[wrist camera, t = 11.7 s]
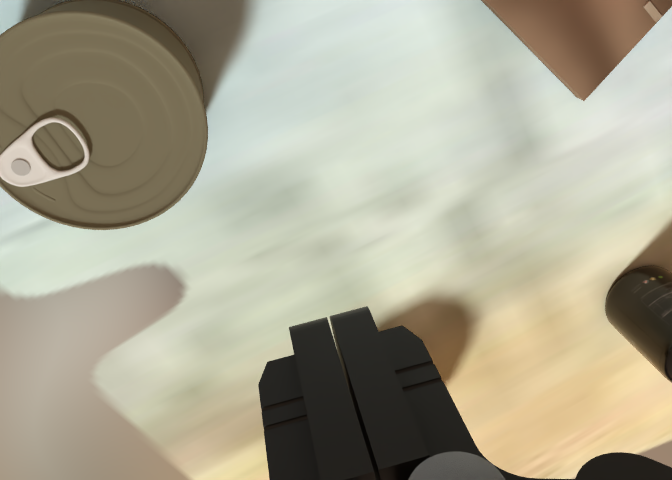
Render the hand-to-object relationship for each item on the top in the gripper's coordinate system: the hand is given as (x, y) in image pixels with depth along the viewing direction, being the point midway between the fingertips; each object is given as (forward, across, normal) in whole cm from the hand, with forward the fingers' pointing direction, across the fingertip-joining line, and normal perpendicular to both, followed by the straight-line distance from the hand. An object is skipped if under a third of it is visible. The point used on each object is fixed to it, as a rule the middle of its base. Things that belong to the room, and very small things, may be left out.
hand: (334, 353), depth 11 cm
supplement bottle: (+31, -29, +29) cm, 52 cm away
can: (+31, +9, +2) cm, 33 cm away
